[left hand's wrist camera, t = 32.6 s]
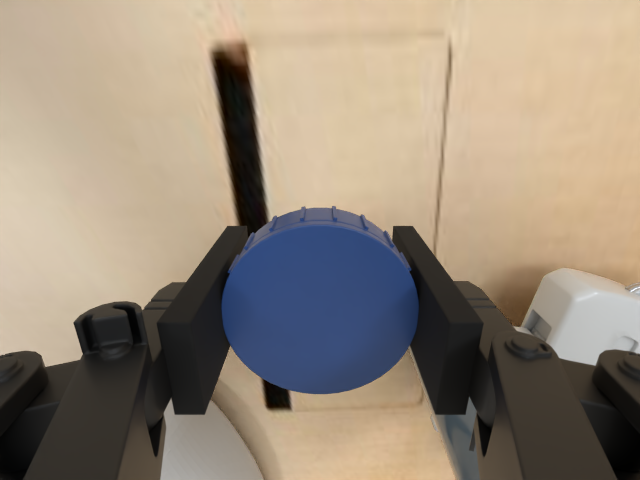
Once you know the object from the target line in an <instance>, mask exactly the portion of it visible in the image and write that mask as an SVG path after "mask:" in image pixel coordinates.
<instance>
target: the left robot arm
mask: <svg viewBox="0 0 640 480" xmlns="http://www.w3.org/2000/svg"><path fill="white" fill-rule="evenodd" d="M247 241H248V235H247V226H227V228H226V229H225V230H224V232H223V233H222V234H221V236H220V237H219V238H218V240H217V241H216V243H215V244H214V245H213V247H212V248H211V249H210V251H209V252H208V253H207V255H206V256H205V257H204V259H203V260H202V262H201V263H200V264H199V266H198V267H197V268H196V270H195V271H194V272H193V274H192V275H191V277H190V278H189V279H188V281H187V282H172V283H171V284H169V285H167V286H166V287H164V288H162V289H161V290H159V291H158V292H157V294H156V295H155V296H154V297H153V298H152V299H151V302H149V303H148V304H147V305H146V306H145V309H144V310H142V309H141V307H140V306H139V305H138V304H136V303H133V302H127V301H124V302H113V303H108V304H104V305H100V306H98V307H95V308H93V309H90V310H88V311H87V312H85V313H83V314H82V315H80V316H79V317H78V318H77V319H76V320H75V321H74V326H75V329H76V332H77V336H78V339H79V342H80V346H81V349H82V352H83V355H82V357H81V359H80V360H77V361H73V362H68V363H63V364H58V365H53V366H49V367H45V365H44V362H43V359H42V356H41V355H39V354H38V353H37V352H32V351H21V352H13V353H8V354H5V355H1V356H0V480H160V478H161V469H162V461H163V452H164V444H165V435H166V422H165V417H164V411H165V409H166V407H167V405H168V403H169V401H170V399H172V404H173V409H174V414H175V415H205V413H206V410H207V408H208V405H209V402H210V399H211V397H212V394H213V391H214V389H215V386H216V383H217V380H218V378H219V375H220V372H221V369H222V367H223V364H224V361H225V358H226V356H227V353H228V350H229V348H230V343H229V341H228V339H227V337H226V334H225V331H224V327H223V319H222V310H221V300H222V295H223V290H224V287H225V284H226V281H227V279H228V277H229V275H230V273H228V271H229V269H230V267H231V265H232V263H233V261H234V259H235V257H236V256H237V254H238V255H240V254H241V252H242V250H243V248H244V246H245V244H246V243H247ZM392 242H393V243H394V245H395V246H396V248H397V249H398V251H399V253H401V252H402V253H403V255H404V257H405V259H406V260H407V262H408V264H409V266H410V268H411V271H409V272H410V274H411V276H412V278H413V281H414V283H415V286H416V289H417V294H418V299H419V313H418V321H417V328H416V332H415V335H414V337H413V340H412V342H411V344H410V347H411V350H412V352H413V355H414V358H415V361H416V363H417V366H418V369H419V372H420V374H421V377H422V380H423V382H424V385H425V388H426V391H427V393H428V396H429V399H430V402H431V404H432V407H433V410H434V412H435V415H466V410H467V405H468V400H469V397H470V399H471V401H472V403H473V405H474V407H475V409H476V411H477V412H476V417H475V422H474V426H473V431H472V436H471V441H470V446H469V451H473V452H474V448H475V444H476V451H477V460H478V468H479V477H480V480H640V354H639V353H638V354H637V353H635V352H631V351H624V350H617V349H613V350H605V351H603V352H602V353H601V354H599V357H598V360H597V363H596V366H595V365H590V364H585V363H580V362H575V361H570V360H565V359H561V358H559V357H558V355H557V353H556V352H555V350H554V349H553V348H552V347H551V346H550V345H549V344H547V343H546V342H544V341H543V340H542V339H539V338H537V337H535V336H533V335H530V334H527V333H523V332H519V331H517V330H516V329H515V328H514V327H513V326H512V325H511V323H510V322H509V321H508V320H507V319H506V318H505V316H504V315H503V314H502V313H501V312H500V311H499V309H498V308H496V306H495V305H494V303H493V302H492V301H491V300H489V298H488V296H487V295H486V294H485V293H484V292H483V291H482V289H480V288H478V287H477V286H475V285H473V284H472V283H470V282H468V281H453V280H452V279H451V278H450V276H449V275H448V273H447V272H446V271H445V269H444V268H443V267H442V265H441V264H440V263H439V261H438V260H437V259H436V257H435V256H434V254H433V253H432V252H431V250H430V249H429V248H428V246H427V245H426V244H425V242H424V241H423V239H422V238H421V237H420V235H419V234H418V233H417V231H416V230H415V229H414V227H413V226H393V238H392Z"/></svg>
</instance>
